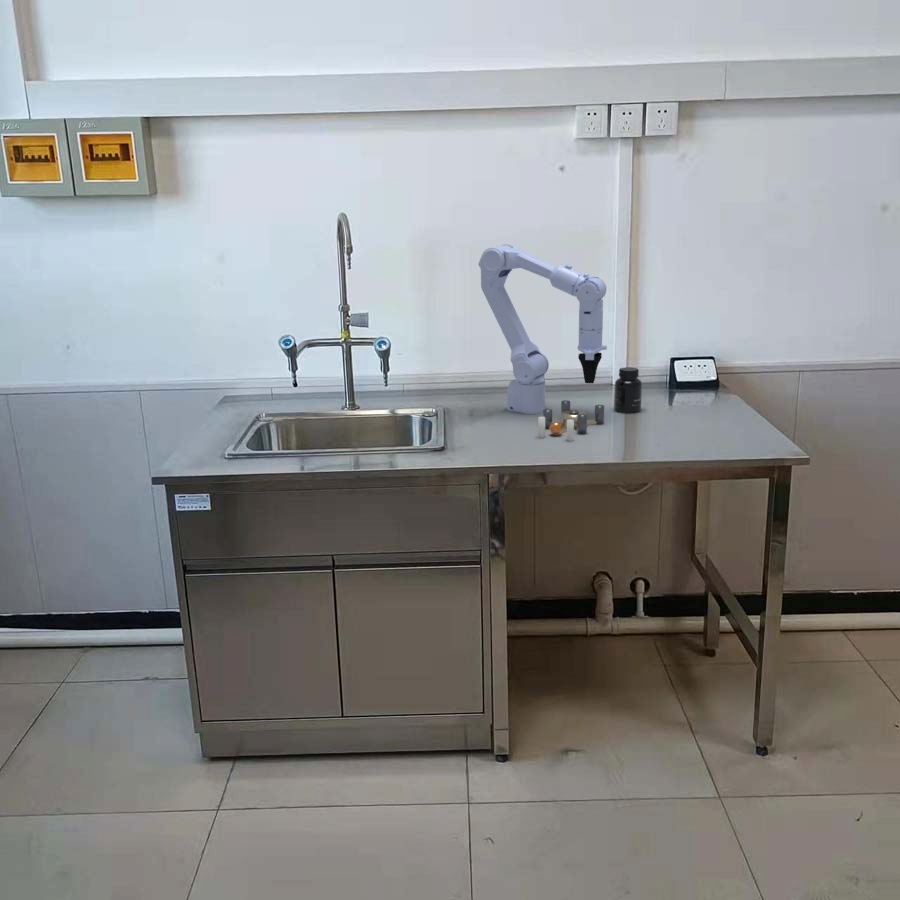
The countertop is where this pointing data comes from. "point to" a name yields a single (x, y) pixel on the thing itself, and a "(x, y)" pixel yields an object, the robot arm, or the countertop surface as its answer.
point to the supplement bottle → (628, 391)
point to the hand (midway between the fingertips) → (589, 382)
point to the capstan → (575, 415)
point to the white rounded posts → (569, 428)
